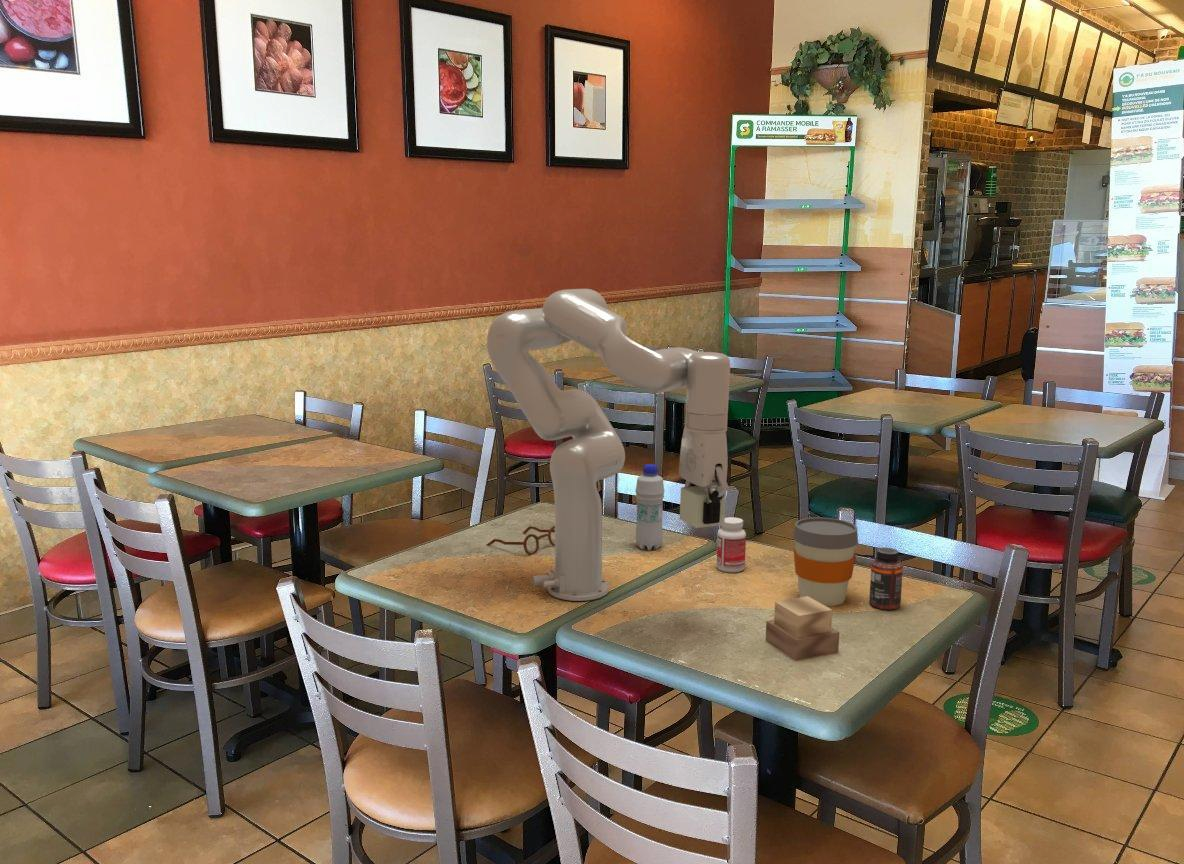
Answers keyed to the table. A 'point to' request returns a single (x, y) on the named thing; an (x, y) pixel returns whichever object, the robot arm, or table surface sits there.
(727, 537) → the pill bottle
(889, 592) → the supplement bottle
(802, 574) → the reusable coffee cup
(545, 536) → the glasses
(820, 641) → the walnut block
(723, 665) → the table surface
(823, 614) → the oak block
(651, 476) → the bottle
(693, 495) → the sage cube
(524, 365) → the robot arm
